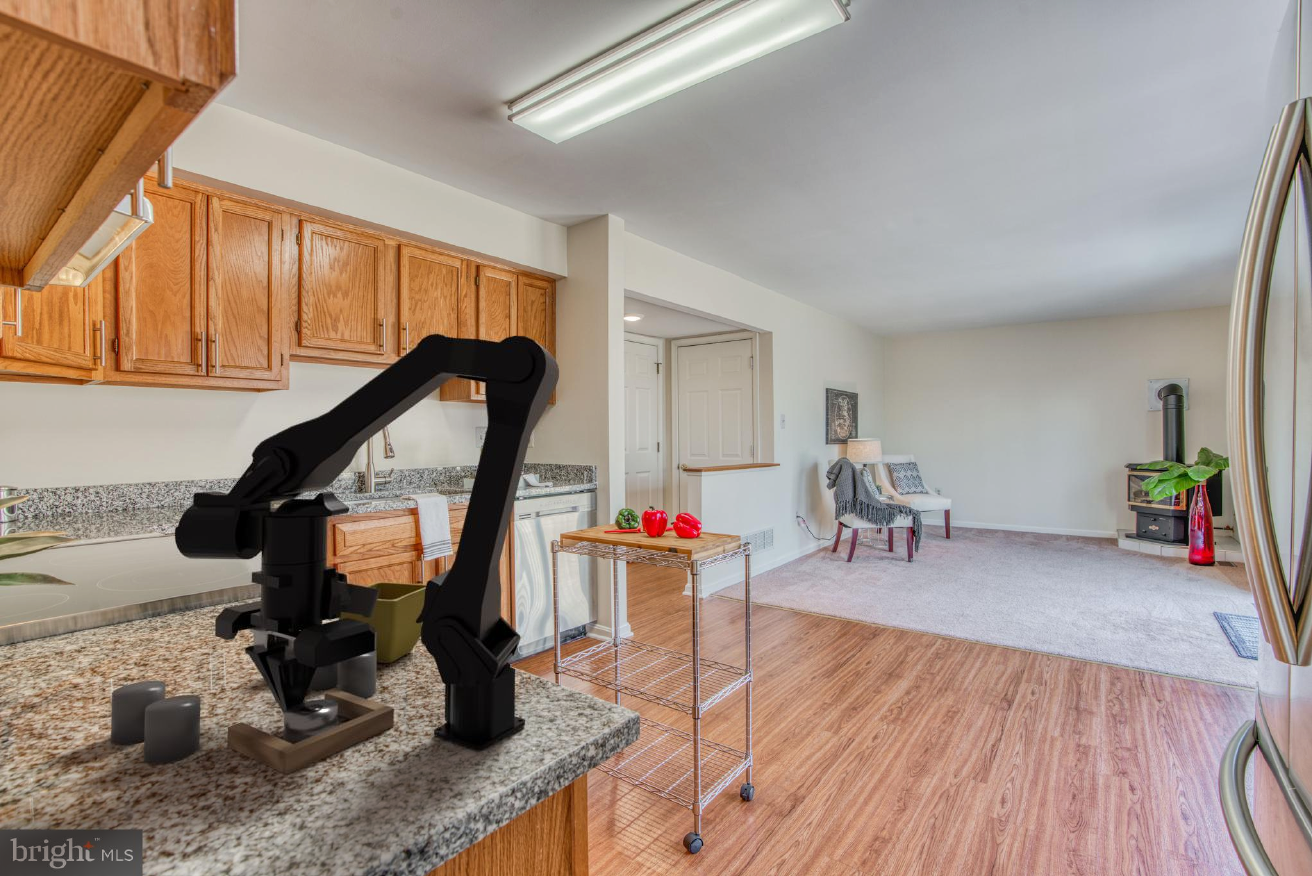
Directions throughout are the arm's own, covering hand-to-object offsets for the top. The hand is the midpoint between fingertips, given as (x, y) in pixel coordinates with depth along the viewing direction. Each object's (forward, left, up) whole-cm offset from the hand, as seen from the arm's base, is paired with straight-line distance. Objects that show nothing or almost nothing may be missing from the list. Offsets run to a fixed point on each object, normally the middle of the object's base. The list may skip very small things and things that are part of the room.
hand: (292, 715), depth 61 cm
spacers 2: (+8, -8, -1) cm, 12 cm away
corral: (-4, 0, -1) cm, 4 cm away
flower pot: (+10, -18, -1) cm, 21 cm away
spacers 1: (+7, +9, -1) cm, 11 cm away
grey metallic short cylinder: (-3, 0, -1) cm, 3 cm away
